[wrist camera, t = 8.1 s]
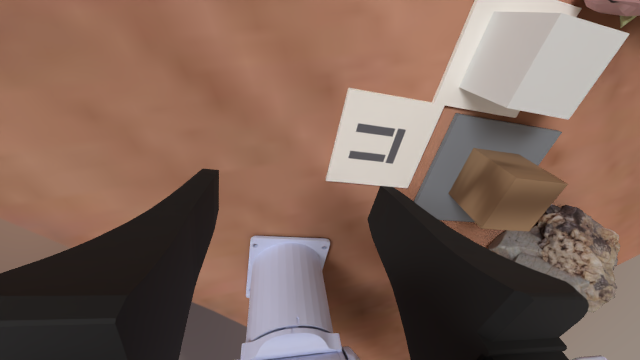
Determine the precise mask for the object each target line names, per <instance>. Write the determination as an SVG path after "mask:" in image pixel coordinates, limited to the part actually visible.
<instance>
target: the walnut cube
mask: <svg viewBox="0 0 640 360" xmlns="http://www.w3.org/2000/svg"><path fill="white" fill-rule="evenodd" d="M567 185H568V184H567V183H566V182H564V181H562V180H561V179H559V178H557V177H556V176H554V175H552V174H551V173H549V172H547V171H546V170H544V169H542V168H541V167H539V166H537V165H536V164H534V163H532V162H531V161H529V160H527V159H526V158H524V157H522V156H521V155H519V154H514V153H506V152H499V151H492V150H485V149H478V148H473V150H472V151H471V153H470V155H469V157H468V159H467V161H466V162H465V164H464V166H463V168H462V170H461V171H460V173H459V175H458V177H457V179H456V181H455V182H454V184H453V186H452V188H451V190H450V191H449V193H448V194H449V195H450V196H451V197H452V198H453V199H454V200H455V201H456V202H457V203H458V204H459V205H460V206H461V208H462V209H463V210H464V211H465V212H466V213H467V214H468V215H469V216H470V217H471V218H472V219H473V220H474V221H475V223H476V224H477V225H478V226H479V227H480V228H481V229H494V230H512V231H530V230H531V228H532V227H533V226H534V225H535V224H536V222H537V221H538V220H539V219H540V217H541V216H542V215H543V214H544V213H545V211H546V210H547V209H548V208H549V207H550V205H551V204H552V203H553V202H554V200H555V199H556V198H557V197H558V196H559V194H560V193H561V192H562V191H563V189H564V188H565V187H566V186H567Z"/></svg>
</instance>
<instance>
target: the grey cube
mask: <svg viewBox="0 0 640 360" xmlns="http://www.w3.org/2000/svg"><path fill="white" fill-rule="evenodd" d="M628 36H629V33H626V32H622V31H619V30H616V29H613V28H609V27H606V26H603V25H599V24H596V23H593V22H590V21H586V20H583V19H580V18H576V17H573V16H570V15H567V14H563V13H544V12H493V15H492V17H491V19H490V21H489V23H488V26H487V28H486V30H485V32H484V34H483V36H482V39H481V41H480V43H479V45H478V47H477V49H476V52H475V54H474V56H473V58H472V60H471V63H470V65H469V67H468V69H467V71H466V73H465V76H464V78H463V80H462V82H461V84H460V86H459V88H462V89H464V90H466V91H469V92H471V93H473V94H476V95H478V96H480V97H482V98H485V99H487V100H489V101H492V102H494V103H496V104H499V105H501V106H503V107H506V108H509V109H515V110H520V111H525V112H531V113H536V114H542V115H547V116H552V117H558V118H563V119H568V120H569V118H570V117H571V116H572V114H573V113H574V111H575V110H576V109H577V107H578V106H579V104H580V103H581V102H582V100H583V99H584V97H585V96H586V95H587V93H588V92H589V90H590V89H591V88H592V86H593V85H594V83H595V82H596V81H597V79H598V78H599V76H600V75H601V73H602V72H603V71H604V69H605V68H606V66H607V65H608V64H609V62H610V61H611V59H612V58H613V57H614V55H615V54H616V52H617V51H618V50H619V48H620V47H621V45H622V44H623V43H624V41H625V40H626V38H627V37H628Z"/></svg>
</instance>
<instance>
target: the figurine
mask: <svg viewBox="0 0 640 360" xmlns="http://www.w3.org/2000/svg"><path fill="white" fill-rule="evenodd" d="M584 2H585V4H586V6H587V7H588V8H590V9H592V10H594V11H597V12H599V13H606V14H613V15H620V26H621V28H622V27H623V26H624V25H626V24H627V23H628V22H630V21H631V20H632V19H634V18H635V17H636V16H640V0H584Z"/></svg>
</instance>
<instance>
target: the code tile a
mask: <svg viewBox="0 0 640 360" xmlns="http://www.w3.org/2000/svg"><path fill="white" fill-rule="evenodd" d="M444 106H445V105H439V104H434V103H432V102H427V101H421V100H416V99H410V98H404V97H399V96H393V95H388V94H382V93H376V92H371V91H365V90H359V89H354V88H348V91H347V95H346V99H345V103H344V107H343V111H342V115H341V119H340V123H339V127H338V131H337V135H336V139H335V143H334V147H333V151H332V155H331V160H330V164H329V168H328V172H327V176H326V181H334V182H345V183H356V184H367V185H378V186H389V187H399V188H408V186H409V184H410V182H411V180H412V177H413V175H414V173H415V171H416V169H417V166H418V164H419V162H420V160H421V157H422V155H423V153H424V151H425V148H426V146H427V144H428V142H429V139H430V137H431V135H432V133H433V131H434V128H435V126H436V124H437V122H438V119H439V117H440V115H441V113H442V110H443V108H444Z"/></svg>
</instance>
